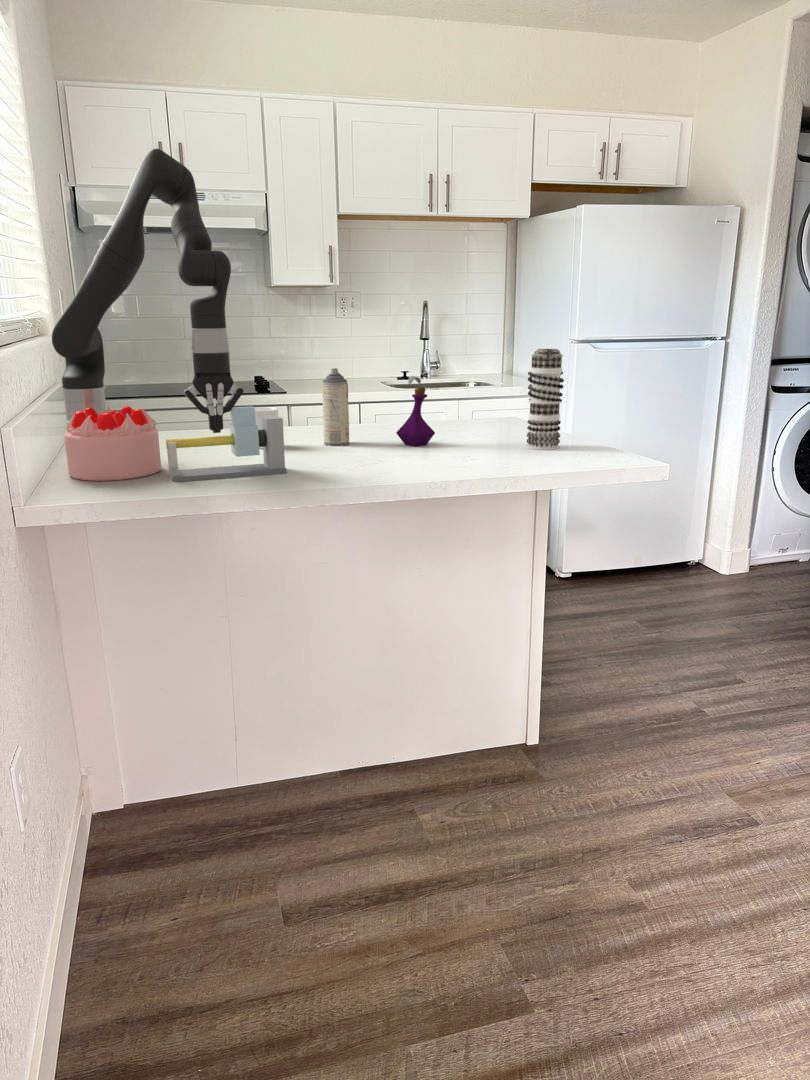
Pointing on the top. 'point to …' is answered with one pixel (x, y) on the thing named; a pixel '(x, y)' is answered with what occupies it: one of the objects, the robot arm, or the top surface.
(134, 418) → the cake
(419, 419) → the perfume bottle
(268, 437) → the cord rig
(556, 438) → the decorative candle
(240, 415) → the sleeve
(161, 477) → the top surface
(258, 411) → the white cup
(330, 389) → the aerosol can
